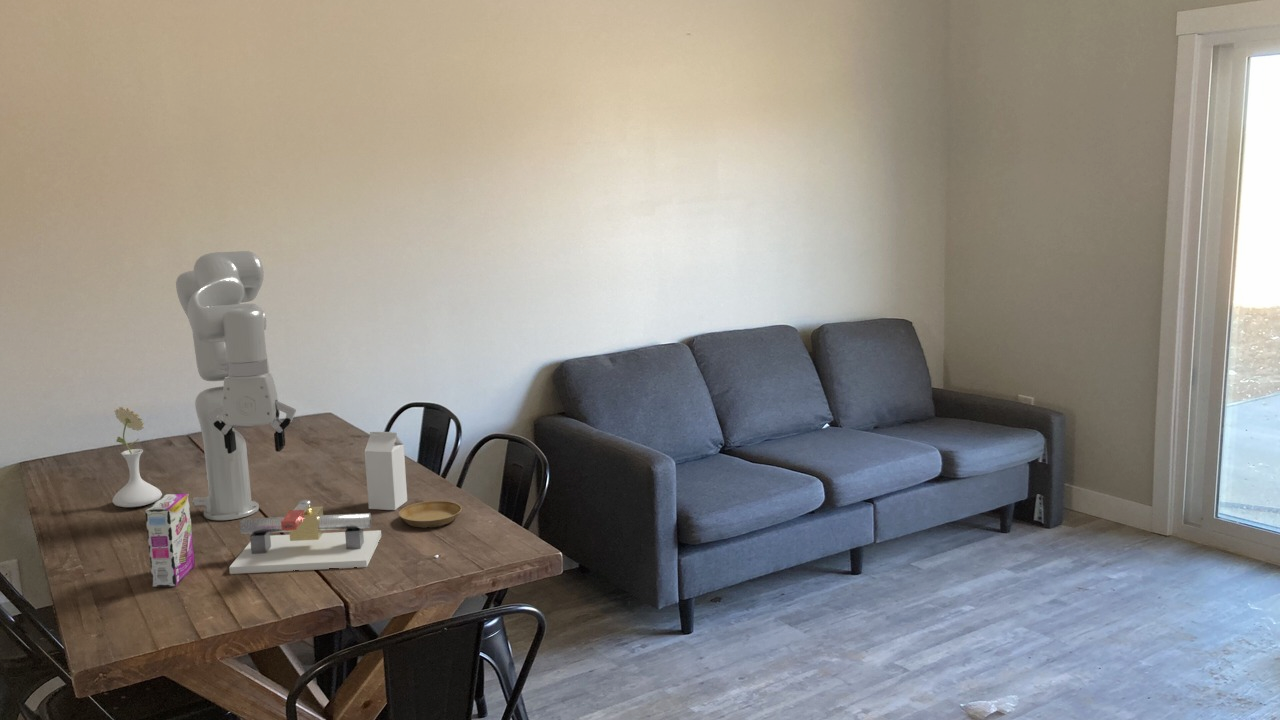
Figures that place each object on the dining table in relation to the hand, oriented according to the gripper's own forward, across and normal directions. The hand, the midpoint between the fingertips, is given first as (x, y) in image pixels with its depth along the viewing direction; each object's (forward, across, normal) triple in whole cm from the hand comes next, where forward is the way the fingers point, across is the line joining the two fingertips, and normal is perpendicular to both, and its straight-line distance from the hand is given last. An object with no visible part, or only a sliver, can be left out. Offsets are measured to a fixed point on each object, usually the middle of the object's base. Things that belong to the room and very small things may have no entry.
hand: (255, 450), depth 203 cm
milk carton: (+26, +17, +40) cm, 50 cm away
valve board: (+26, +6, +8) cm, 28 cm away
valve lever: (+15, +7, +2) cm, 17 cm away
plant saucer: (+26, +30, +28) cm, 48 cm away
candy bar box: (+26, -18, -2) cm, 32 cm away
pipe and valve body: (+24, +6, +8) cm, 26 cm away
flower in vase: (+25, -48, +48) cm, 72 cm away
